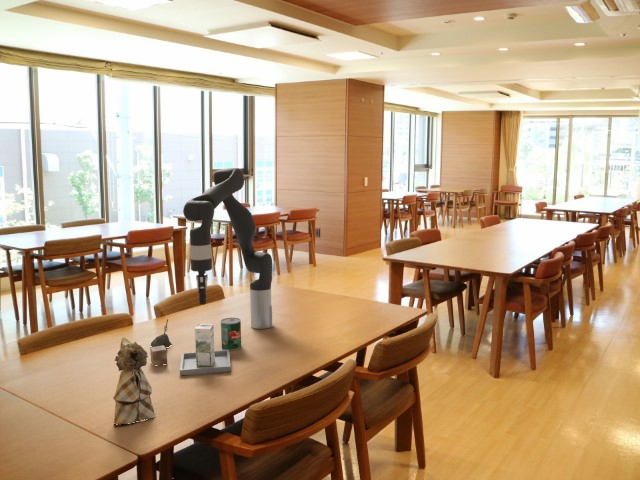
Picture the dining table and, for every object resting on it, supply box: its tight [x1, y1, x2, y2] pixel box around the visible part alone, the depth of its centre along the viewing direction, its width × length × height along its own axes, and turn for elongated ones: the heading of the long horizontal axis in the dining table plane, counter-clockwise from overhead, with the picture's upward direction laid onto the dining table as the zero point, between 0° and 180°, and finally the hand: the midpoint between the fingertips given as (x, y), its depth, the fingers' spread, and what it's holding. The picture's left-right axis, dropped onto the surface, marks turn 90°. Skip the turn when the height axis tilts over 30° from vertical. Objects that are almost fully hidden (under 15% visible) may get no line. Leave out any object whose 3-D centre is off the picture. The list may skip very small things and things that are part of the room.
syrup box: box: [194, 323, 215, 366], centre depth 217 cm, size 6×6×14 cm
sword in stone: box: [150, 318, 173, 348], centre depth 239 cm, size 10×8×12 cm
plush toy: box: [112, 336, 156, 426], centre depth 176 cm, size 14×14×25 cm
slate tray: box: [179, 349, 232, 376], centre depth 218 cm, size 18×18×2 cm
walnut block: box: [149, 345, 168, 367], centre depth 220 cm, size 5×5×6 cm
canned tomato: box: [220, 317, 242, 351], centre depth 237 cm, size 8×8×11 cm
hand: (203, 301), depth 214 cm, fingers open, 8 cm apart
